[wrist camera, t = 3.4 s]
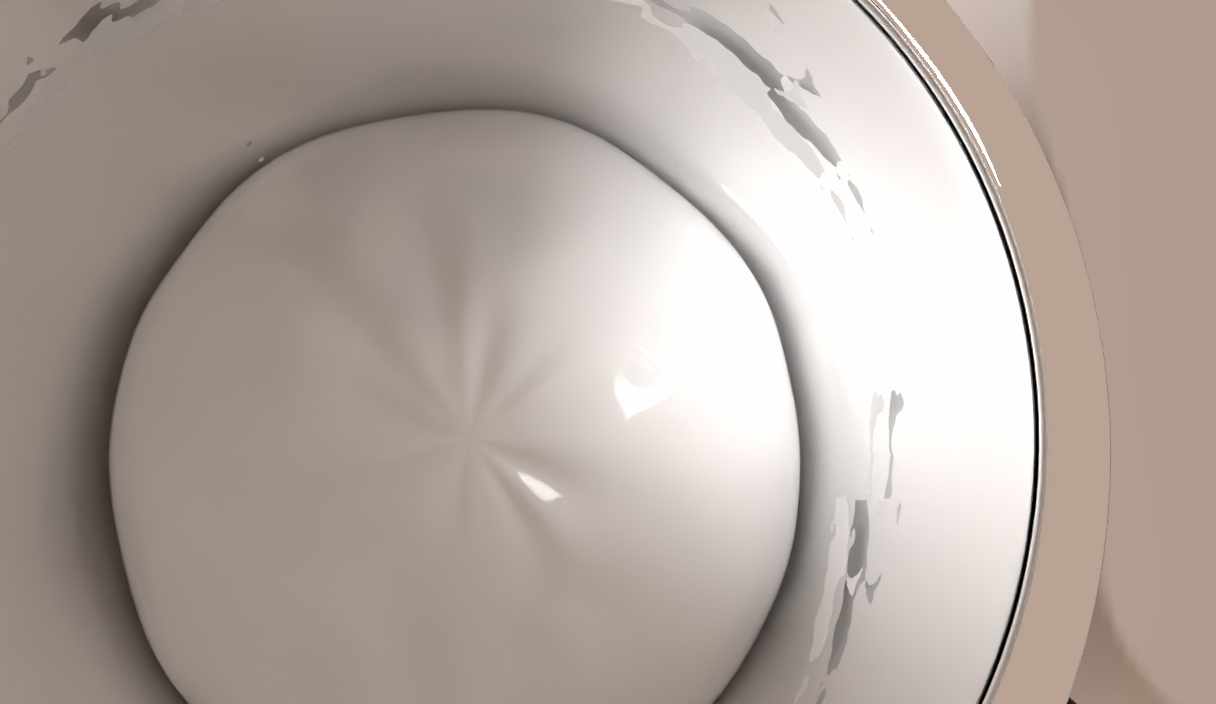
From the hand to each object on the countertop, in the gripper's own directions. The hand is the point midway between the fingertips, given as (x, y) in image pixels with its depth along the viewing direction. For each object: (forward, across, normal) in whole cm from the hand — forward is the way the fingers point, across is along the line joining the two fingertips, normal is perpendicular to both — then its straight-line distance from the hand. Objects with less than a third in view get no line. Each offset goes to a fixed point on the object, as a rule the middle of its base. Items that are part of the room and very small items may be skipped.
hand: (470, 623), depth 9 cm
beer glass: (+8, 0, +6) cm, 10 cm away
